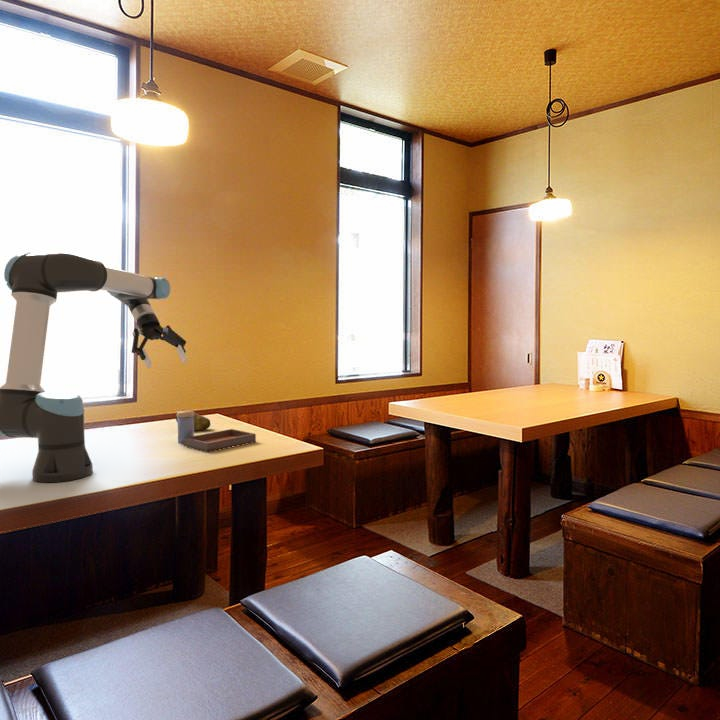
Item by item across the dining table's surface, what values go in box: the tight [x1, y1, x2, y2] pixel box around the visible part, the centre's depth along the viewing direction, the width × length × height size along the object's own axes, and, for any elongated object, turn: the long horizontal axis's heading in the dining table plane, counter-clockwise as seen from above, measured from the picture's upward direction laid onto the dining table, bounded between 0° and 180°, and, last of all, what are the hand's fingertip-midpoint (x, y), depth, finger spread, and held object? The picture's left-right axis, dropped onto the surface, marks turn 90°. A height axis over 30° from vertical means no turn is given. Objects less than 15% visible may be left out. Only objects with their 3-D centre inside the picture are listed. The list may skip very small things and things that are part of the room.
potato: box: [175, 409, 211, 432], centre depth 225 cm, size 8×13×8 cm, turn 75°
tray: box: [183, 428, 257, 453], centre depth 199 cm, size 20×14×3 cm
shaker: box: [176, 410, 195, 445], centre depth 202 cm, size 6×6×11 cm
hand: (168, 363), depth 205 cm, fingers open, 13 cm apart
